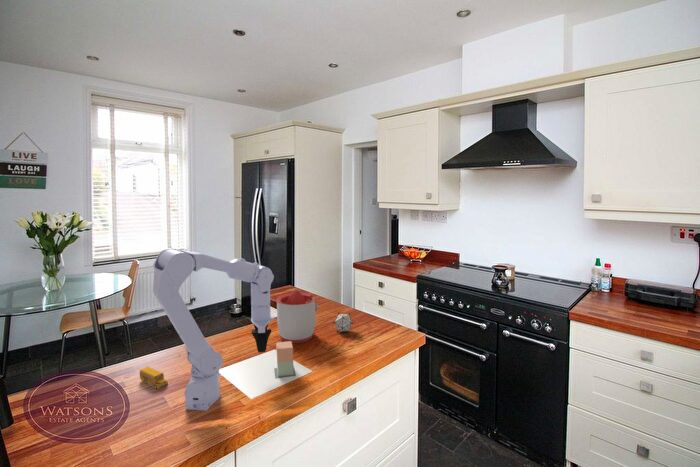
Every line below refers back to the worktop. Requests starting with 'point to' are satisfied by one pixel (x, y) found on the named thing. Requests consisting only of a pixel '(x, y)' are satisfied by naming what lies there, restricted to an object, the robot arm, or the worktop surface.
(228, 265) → the robot arm
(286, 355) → the terracotta brick
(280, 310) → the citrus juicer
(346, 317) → the game die
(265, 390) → the baseplate
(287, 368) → the green brick
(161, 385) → the toy bus
